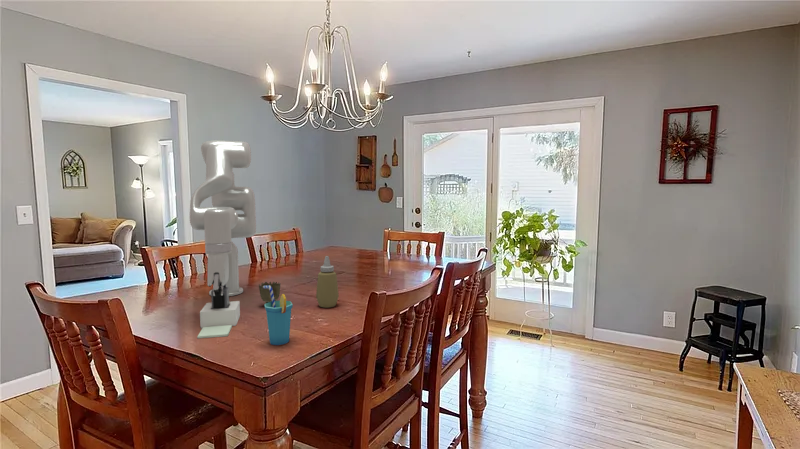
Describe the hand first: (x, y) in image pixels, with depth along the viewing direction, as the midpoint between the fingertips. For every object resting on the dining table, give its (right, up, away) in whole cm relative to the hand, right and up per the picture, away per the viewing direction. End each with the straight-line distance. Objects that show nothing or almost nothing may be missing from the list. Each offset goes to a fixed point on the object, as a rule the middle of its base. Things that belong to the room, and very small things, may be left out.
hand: (220, 305), depth 131 cm
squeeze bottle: (+31, -4, +18) cm, 36 cm away
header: (0, -5, 0) cm, 5 cm away
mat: (+2, -6, -9) cm, 11 cm away
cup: (+23, -7, -15) cm, 28 cm away
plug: (0, -5, 0) cm, 5 cm away
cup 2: (+10, -4, +18) cm, 21 cm away
